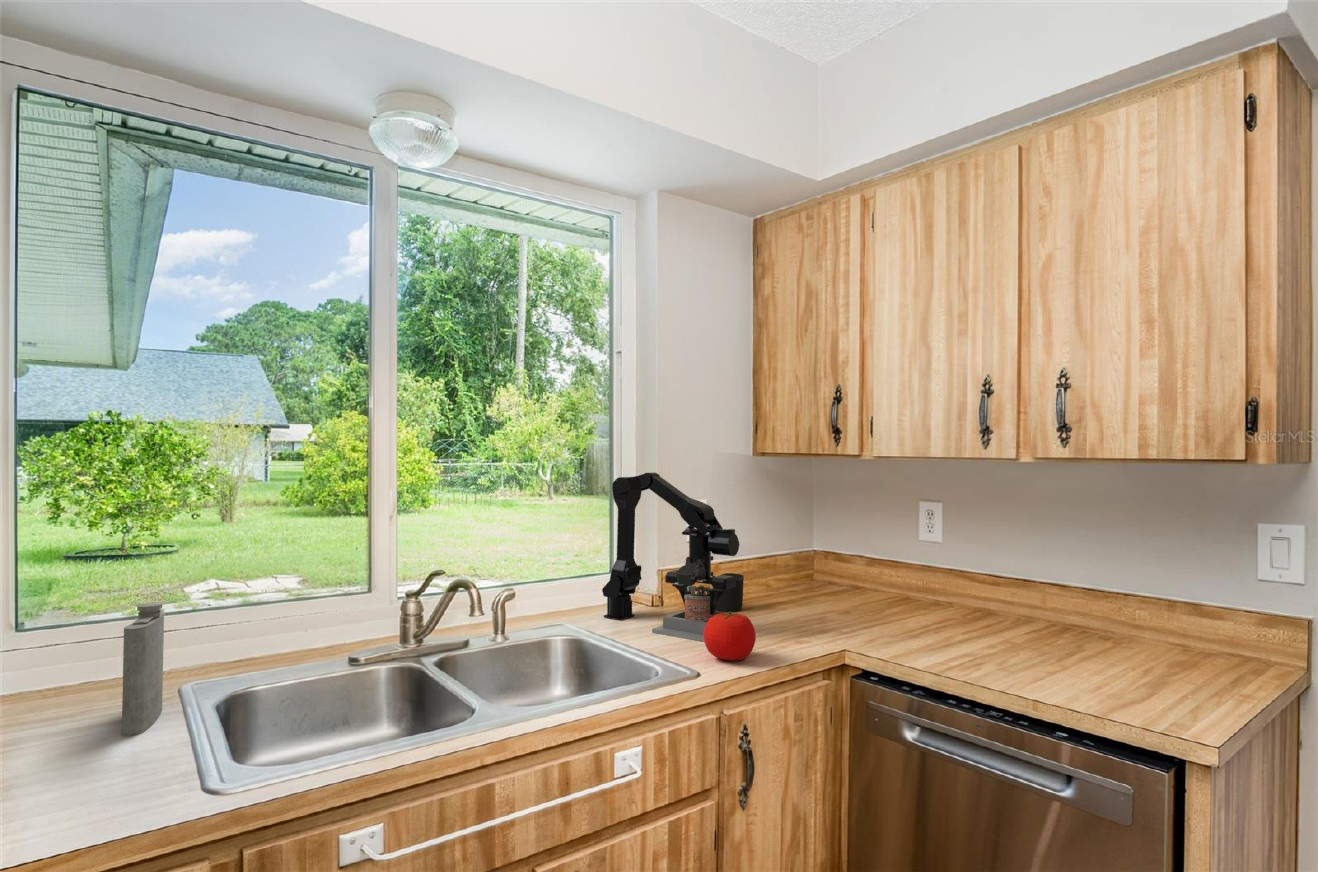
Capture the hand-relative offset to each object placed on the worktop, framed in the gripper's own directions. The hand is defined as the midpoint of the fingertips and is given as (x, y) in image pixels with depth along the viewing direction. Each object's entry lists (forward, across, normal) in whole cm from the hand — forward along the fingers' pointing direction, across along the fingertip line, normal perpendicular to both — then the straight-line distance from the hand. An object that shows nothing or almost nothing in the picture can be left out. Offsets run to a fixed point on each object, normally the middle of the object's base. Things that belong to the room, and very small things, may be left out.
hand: (699, 612), depth 188 cm
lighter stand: (+5, 0, 0) cm, 5 cm away
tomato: (+5, +19, -18) cm, 27 cm away
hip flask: (+5, -46, -109) cm, 118 cm away
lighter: (+3, 0, 0) cm, 3 cm away
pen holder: (+5, -7, +27) cm, 28 cm away
